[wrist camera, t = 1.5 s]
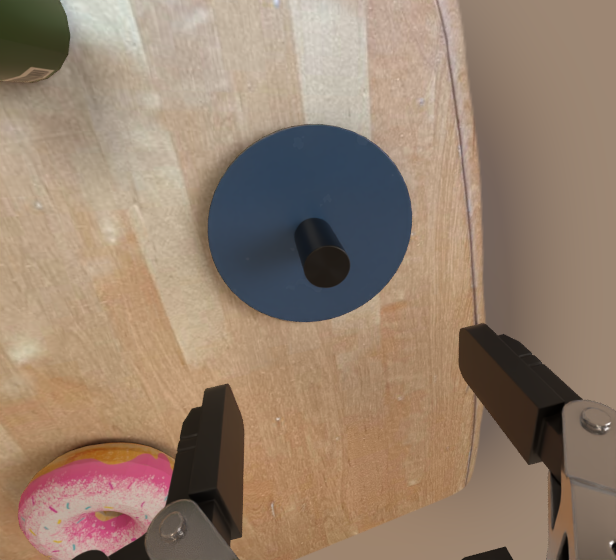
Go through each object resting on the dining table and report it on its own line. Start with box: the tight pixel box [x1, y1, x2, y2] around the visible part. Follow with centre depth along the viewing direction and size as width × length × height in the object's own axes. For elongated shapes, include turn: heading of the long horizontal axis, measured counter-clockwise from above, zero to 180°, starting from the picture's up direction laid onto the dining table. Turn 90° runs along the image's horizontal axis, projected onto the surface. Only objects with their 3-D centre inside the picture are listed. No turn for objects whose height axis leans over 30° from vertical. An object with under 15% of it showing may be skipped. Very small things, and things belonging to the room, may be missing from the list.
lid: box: [208, 124, 412, 322], centre depth 22 cm, size 14×14×6 cm
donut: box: [18, 442, 175, 560], centre depth 31 cm, size 14×13×5 cm
